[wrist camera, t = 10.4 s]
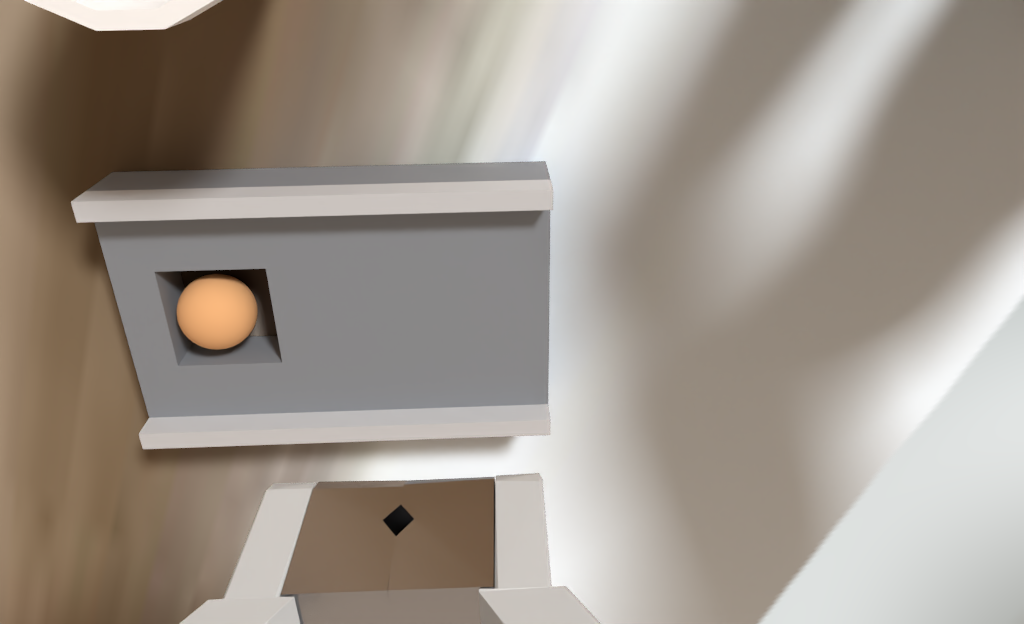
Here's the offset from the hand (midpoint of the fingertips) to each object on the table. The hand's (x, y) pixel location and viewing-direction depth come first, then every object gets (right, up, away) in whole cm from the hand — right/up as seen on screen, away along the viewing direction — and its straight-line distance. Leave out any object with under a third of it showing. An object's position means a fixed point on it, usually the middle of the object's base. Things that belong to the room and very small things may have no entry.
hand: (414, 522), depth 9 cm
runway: (-8, +4, +34) cm, 35 cm away
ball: (-14, +2, +32) cm, 35 cm away
